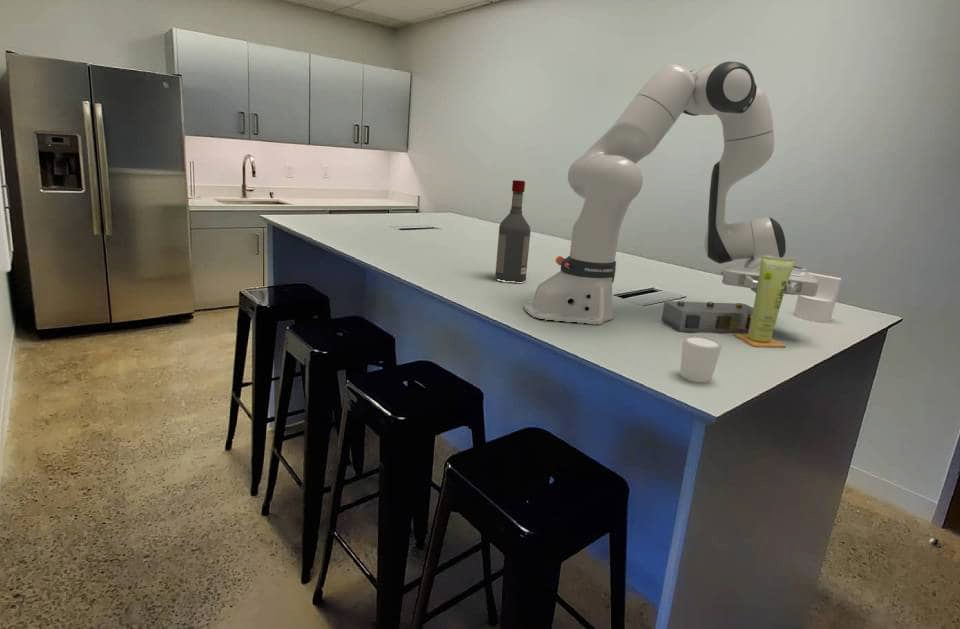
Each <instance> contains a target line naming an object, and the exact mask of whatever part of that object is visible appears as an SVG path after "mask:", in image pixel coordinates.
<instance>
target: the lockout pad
mask: <svg viewBox="0 0 960 629" xmlns="http://www.w3.org/2000/svg"><path fill="white" fill-rule="evenodd" d="M733 336H734V337H736V339H737V338H738V339H740V340H741V341H742V342H745V343H746V344H747V345H749V346H751V347H754V348H787V345H785V344H783V343H781V342H780V341H778V340H776V339H774V338H772V337H771V340H770V341H769V342H760V341H755V340H752V339H750V338H749V337H748V333H733Z"/></svg>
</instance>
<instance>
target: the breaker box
mask: <svg viewBox="0 0 960 629" xmlns="http://www.w3.org/2000/svg"><path fill="white" fill-rule="evenodd" d="M752 312H753V307H752V306H750V305H748V304H745V303H740V302H735V303H733V302H732V303H731V302H712V301H708V302H705V301H704V302H703V301H702V302H699V301H697V302H695V301H681V300H679V301H670V300H669V301H668V300H667V301H666V300H665V301H664V304H663V310H662V315H661V321H662V322H663V323H665V324H666V325H668V326H670V327H671V328H673V329H674V330H676V331H677V332H678V333H680V332H683V333H685V332H686V333H720V334H721V333H722V334H723V333H724V334H725V333H726V334H729V333H731V334H748V331H749V327H750V322H751V317H752Z"/></svg>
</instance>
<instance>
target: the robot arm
mask: <svg viewBox="0 0 960 629" xmlns="http://www.w3.org/2000/svg"><path fill="white" fill-rule="evenodd" d="M682 114H686V115H689V116H693V117H695V116H714V115H716V116H717V117H718V118H719V120H720V122H721V125H722V136H723V150H722V151H723V152H722V155H721V157H720V160H718V161H717V162H716V163H715V164H713V167H712V171H711V177H710V186H709V198H708V199H709V201H708V216H707V217H708V218H707V219H708V221H707V230H706V234H705V238H704V251H705V254H706V256H707V258H708V259H710V260H711V261H713V262H715V263H717V264H719V265H721V264H725V263H730V262H733V261H737V260H745V259H746V260H745V261H744V264H743V267H738V266H727V267H725V268H724V269H723V270H721V271H720V274H721V276H722V279H721V280H722V281H721V283H722V284H724V285H727V286H734V287H739V288H747V289H750V290H751V291H752V292H753V293H755V294H756V291H757V287H758V280H759V273H760V266H761V258H762V256H767V257H777V258H784V257H785V254H786V252H787V251H786V250H787V249H786V247H787V245H786V237H785V232H784V231H783V228H782V226H781V224H780V223H779V222H778V221H777V220H775V219H774V218H772V217H770V216H768V217H767V216H766V217H761V218H755V219H749V220H745V221H738V222H734V223H726V221H725V215H726V204H727V202H726V201H727V194H728V193H729V191H730V189H731V188H732V187H733V186H734V185H735V184H736V183H738V182H740V181H741V180H743V179H745V178H746V177H748V176H750V175H752V174H754V173H755V172H757V171H758V170H760V169H761V168H763V167H764V166H765V165H766V164H767V162H769V160H770V159H771V157H772V155H773V153H774V150H775V132H774V130H775V129H774V122H773V115H772V112H771V107H770V103H769V99H768V96H767V93H766V92H765V90H763V89H762V88H761V87H758V86H757V84H756V82H755V77H754V75H753V73H752V71H751V70H750V68H749V67H748V65H746V64H745V63H743V62H738V61H725V62H722V63H715V64H708V65H705V66H702V67H700V68H697V69H693V70H688V69H687V68H685V66H683V65H680V64H675V63H671V64H666V65H664V66H663V67H662V68H660V69H659V70H658V71H656V72H655V74H654V75H653V76H652V77H651V78H650V79H648V81H647V82H646V83H645V84H644V85H643V87H641V89H640V90H639V91H638V93H637V94H636V95H635V97H634V98H633V99H632V101H630V103H629V104H628V106H627V107H626V109H625V110H624V111H623V112H622V114H621V115H620V116H619V118H618V119H617V120H616V121H615V123H614V124H613V125H612V126H611V127H610V128H609V129H608V130H607V131H606V132H605V133H604V134H603V135H602V136H601V137H599V139H598V140H597V141H596V142H594V143H593V144H592V146H590V148H589V149H587V151H586V152H584V154H582V155H581V156H580V157H579V158H576V160H574V161H573V162H572V164H571V165H570V166H569V168H568V173H567V180H568V181H567V182H568V184H569V187H570V188H571V189H572V190H573V192H575V194H577V195H578V196H579V197H580V198H583V199H584V202H583V205H582V209H581V212H580V213H579V217H578V218H577V219H576V221H575V222H574V224H573V227H572V235H571V242H570V250H569V251H570V252H569V255H568V256H567V257H565V258H564V257H562V256H560V255H558V256H557V257H556V258H555V263H556V265H558V266H560V270H559V271H558V272H557V273H555V274H554V275H551V276H550V277H549V278H547V279H545V280H544V281H542V282H541V283H540V284H539V285H538V286H537V288H536V290H535V293H534V296H533V300H531V301H526V302H525V303H524V305H523V306H524V307H525V309H526V311H527V312H529V313H530V314H531V315H532V316H534V317H536V318H539V319H545V320H544V321H547V320H554V321H553V322H559V321H565V322H564V323H571V322H577V323H576V324H584V323H587V324H586V325H588V324H589V325H597V324H598V325H599V326H600V325H602V324H603V323H604V322H607V321H610V320H612V319H614V310H613V300H612V299H613V297H612V296H613V294H612V293H613V283H614V280H615V277H616V270H617V269H616V268H617V261H616V260H615V259H616V255H617V248H618V243H619V235H620V230H621V227H622V224H623V221H624V218H625V216H626V213H627V211H628V209H629V206H630V204H631V202H632V201H633V200H634V199H635V198H637V196H638V195H639V193H640V191H641V189H642V188H643V179H644V178H643V173H642V171H641V168H640V167H639V166H638V165H637V163H638V162H639V161H641V160H643V159H644V158H645V157H647V156H649V155H650V154H651V153H653V152H654V151H655V149H656V148H657V146H658V145H659V144H660V143H661V141H662V140H663V138H664V137H665V136H666V135H667V133H669V131H670V130H671V129H672V127H673V126H674V124H675V123H676V122H677V121H678V119H679V118H680V117H681V115H682ZM808 272H809V271H808V269H806V268H804V267H800V266H795V265H794V266H793V269H792V272H791V275H790V277H789V280H788V283H787V285H786V289H785V292H784V295H793V296H798V295H804V296H810V297H814V296H816V293H817V290H818V285H819V281H818V280H817V279H816V278H815V277H814V276H813V275H811V274H809V273H810V272H809V273H808ZM524 307H523V308H524ZM525 309H524V310H525ZM526 311H525V312H526ZM527 312H526V313H527ZM532 316H531V317H532ZM534 317H533V318H534ZM536 318H535V319H536ZM539 319H538V320H539Z"/></svg>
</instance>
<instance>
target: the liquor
mask: <svg viewBox="0 0 960 629" xmlns="http://www.w3.org/2000/svg"><path fill="white" fill-rule="evenodd" d="M511 186H512V187H511V191H512V197H511V198H512V199H511V206H510V207H511V208H510V210H509V214H507V215H506V216H505V218H504V219H503V220H502V221H501V222H500V223H499V227H498V236H497V238H498V239H497V250H496V251H497V252H496V263H495V280H496V279H500V280H505V281H515V282H523V281H525V282H526V280H527V270H528V259H529V250H530V239H531V227H530V224H529V223H528V221H527V220H526V219H525V216H524V215H523V200H524V197H523V196H524V192H525V187H526V181H525V180H517V179H516V180H515V179H514V180H512V185H511Z"/></svg>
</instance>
